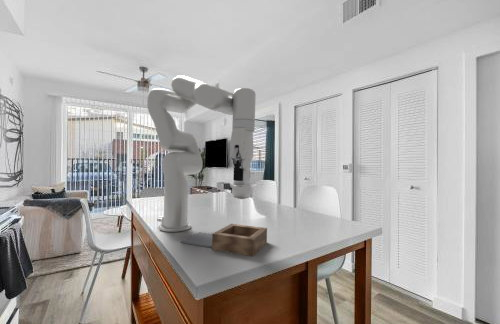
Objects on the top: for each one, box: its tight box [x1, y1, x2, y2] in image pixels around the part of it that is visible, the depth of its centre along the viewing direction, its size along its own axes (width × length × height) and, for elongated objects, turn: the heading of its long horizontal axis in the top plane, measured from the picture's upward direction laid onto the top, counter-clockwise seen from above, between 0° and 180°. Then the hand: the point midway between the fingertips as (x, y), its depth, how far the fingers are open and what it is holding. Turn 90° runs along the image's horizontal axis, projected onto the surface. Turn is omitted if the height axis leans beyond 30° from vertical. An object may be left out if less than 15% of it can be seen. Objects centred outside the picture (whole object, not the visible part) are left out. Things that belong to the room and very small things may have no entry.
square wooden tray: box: [211, 223, 268, 257], centre depth 81 cm, size 14×14×5 cm
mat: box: [180, 231, 213, 249], centre depth 86 cm, size 12×12×1 cm
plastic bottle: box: [231, 150, 253, 200], centre depth 81 cm, size 6×7×20 cm
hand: (241, 179), depth 81 cm, fingers closed on plastic bottle, 5 cm apart
